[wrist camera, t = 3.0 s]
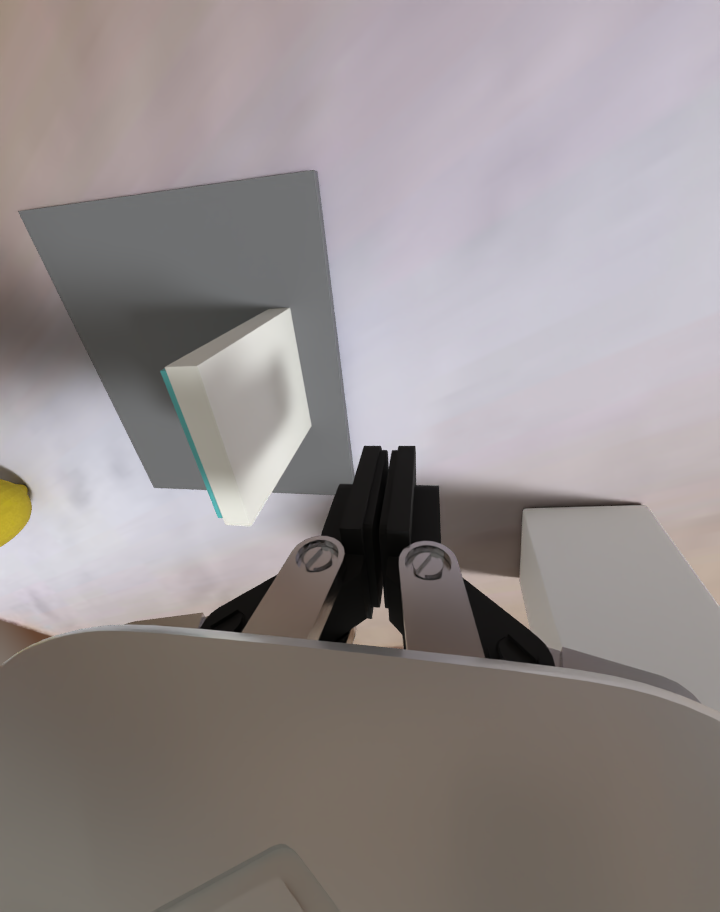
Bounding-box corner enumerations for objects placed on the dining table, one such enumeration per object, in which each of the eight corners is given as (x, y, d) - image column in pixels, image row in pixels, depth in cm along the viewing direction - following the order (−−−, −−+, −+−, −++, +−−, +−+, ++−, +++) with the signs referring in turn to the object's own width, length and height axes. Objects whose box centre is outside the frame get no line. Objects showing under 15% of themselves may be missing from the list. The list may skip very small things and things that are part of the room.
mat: (28, 211, 19) (17, 211, 19) (317, 171, 16) (313, 169, 16) (158, 483, 29) (153, 487, 29) (356, 490, 26) (354, 496, 25)
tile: (261, 309, 20) (154, 367, 12) (289, 307, 19) (196, 365, 12) (287, 425, 23) (217, 524, 16) (311, 425, 23) (251, 526, 16)
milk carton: (625, 579, 26) (905, 1125, 10) (518, 578, 28) (620, 1042, 12) (646, 502, 22) (1123, 1161, 7) (521, 506, 24) (673, 1035, 9)
